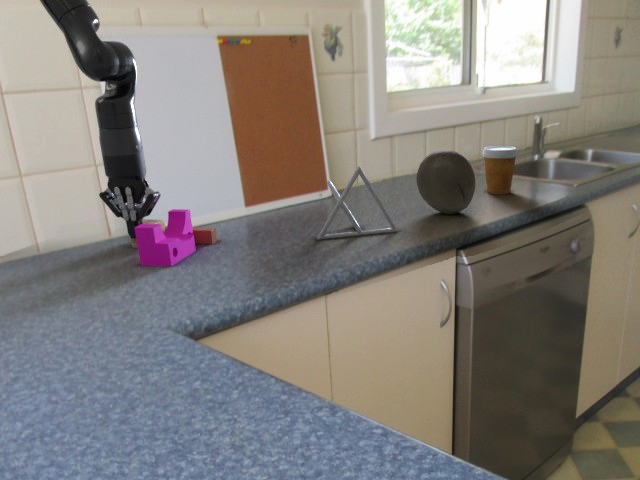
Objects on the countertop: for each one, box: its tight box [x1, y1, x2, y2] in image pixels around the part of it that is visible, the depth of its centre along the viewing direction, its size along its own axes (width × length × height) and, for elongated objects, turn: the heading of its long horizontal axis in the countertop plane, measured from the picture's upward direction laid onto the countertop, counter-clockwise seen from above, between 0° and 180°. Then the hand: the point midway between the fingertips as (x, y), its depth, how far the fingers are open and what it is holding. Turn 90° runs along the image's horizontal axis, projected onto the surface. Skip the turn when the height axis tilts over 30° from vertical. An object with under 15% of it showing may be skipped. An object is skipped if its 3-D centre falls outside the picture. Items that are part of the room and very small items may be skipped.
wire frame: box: [316, 165, 399, 241], centre depth 145 cm, size 18×13×16 cm
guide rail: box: [165, 225, 218, 245], centre depth 141 cm, size 16×2×3 cm, turn 76°
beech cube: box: [130, 218, 166, 249], centre depth 138 cm, size 5×5×5 cm
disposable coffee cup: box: [482, 145, 519, 195], centre depth 181 cm, size 10×10×12 cm
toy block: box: [135, 208, 197, 267], centre depth 131 cm, size 15×6×8 cm, turn 171°
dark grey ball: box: [415, 150, 476, 215], centre depth 158 cm, size 14×14×15 cm
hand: (136, 237), depth 135 cm, fingers closed
